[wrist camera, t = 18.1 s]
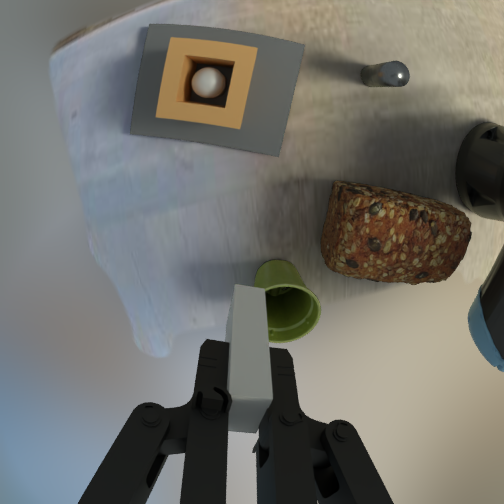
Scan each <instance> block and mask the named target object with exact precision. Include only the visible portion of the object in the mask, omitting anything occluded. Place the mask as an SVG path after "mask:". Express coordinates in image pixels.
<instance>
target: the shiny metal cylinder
mask: <svg viewBox="0 0 504 504" xmlns="http://www.w3.org/2000/svg"><path fill="white" fill-rule="evenodd" d="M409 78H410V74H409V70H408V68H407V67H406V66H405V65H404V64H403V63H402V62H399V61H391V62H386V63H381V64H376V65H371V66H366V67H364V68H363V69H362V71H361V79H362V81H363V83H364V84H365V85H367V86H369V87H401V86H405V85H406V84H407V83H408V81H409Z"/></svg>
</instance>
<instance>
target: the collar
mask: <svg viewBox="0 0 504 504" xmlns="http://www.w3.org/2000/svg"><path fill="white" fill-rule="evenodd" d="M257 50H258V48H256V47H251V46H245V45H239V44H232V43H226V42H218V41H210V40H201V39H190V38H176V37H171V38H170V43H169V47H168V52H167V56H166V61H165V66H164V71H163V76H162V82H161V87H160V93H159V99H158V105H157V111H156V117H157V118H167V119H175V120H183V121H191V122H198V123H205V124H211V125H218V126H224V127H230V128H235V129H240V127H241V124H242V119H243V115H244V110H245V105H246V101H247V96H248V91H249V87H250V82H251V78H252V73H253V69H254V64H255V60H256V55H257ZM197 63H198V64H207V65H215V66H222V67H228V68H233V73H232V77H231V82H230V87H229V92H228V96H227V101H226V106H221V105H215V104H208V103H201V102H193V101H190V97H191V92H192V78H193V76H194V75H195V72H196V67H197Z"/></svg>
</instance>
